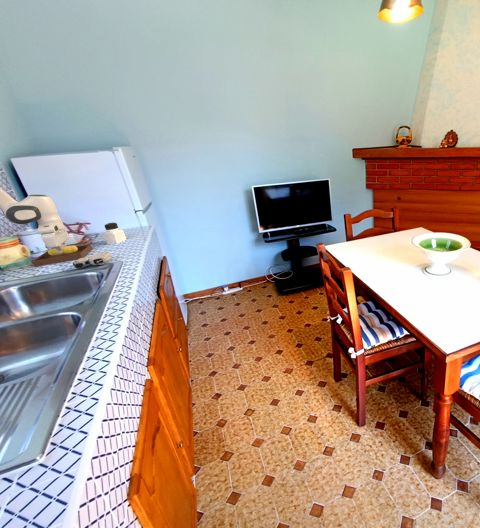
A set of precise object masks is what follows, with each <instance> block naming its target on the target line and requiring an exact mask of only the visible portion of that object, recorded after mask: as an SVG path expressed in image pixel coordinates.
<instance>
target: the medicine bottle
mask: <svg viewBox="0 0 480 528" xmlns="http://www.w3.org/2000/svg"><path fill="white" fill-rule="evenodd" d="M103 226H104V229H105V232H103V233H102V234H103V237H104V239H105V242H106V244H107V245H118V244H121V243H123V242H126V241H127V236H126V234H125V231H124V229H119V225H118V223H117V222H108V223H105V224H104V225H103ZM125 240H126V241H125ZM122 241H123V242H122ZM120 242H121V243H120Z"/></svg>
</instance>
